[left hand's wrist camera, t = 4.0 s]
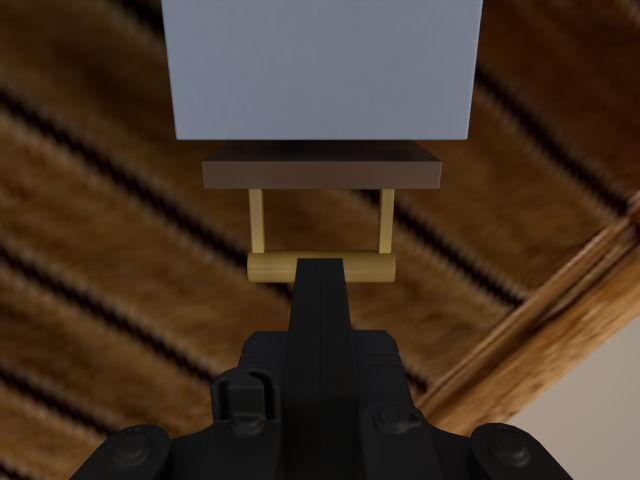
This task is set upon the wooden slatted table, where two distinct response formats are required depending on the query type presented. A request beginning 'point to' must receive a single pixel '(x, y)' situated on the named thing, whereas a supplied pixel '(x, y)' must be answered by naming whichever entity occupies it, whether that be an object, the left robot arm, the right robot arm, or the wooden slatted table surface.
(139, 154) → the wooden slatted table surface
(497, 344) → the wooden slatted table surface
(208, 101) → the cabinet
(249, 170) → the drawer
